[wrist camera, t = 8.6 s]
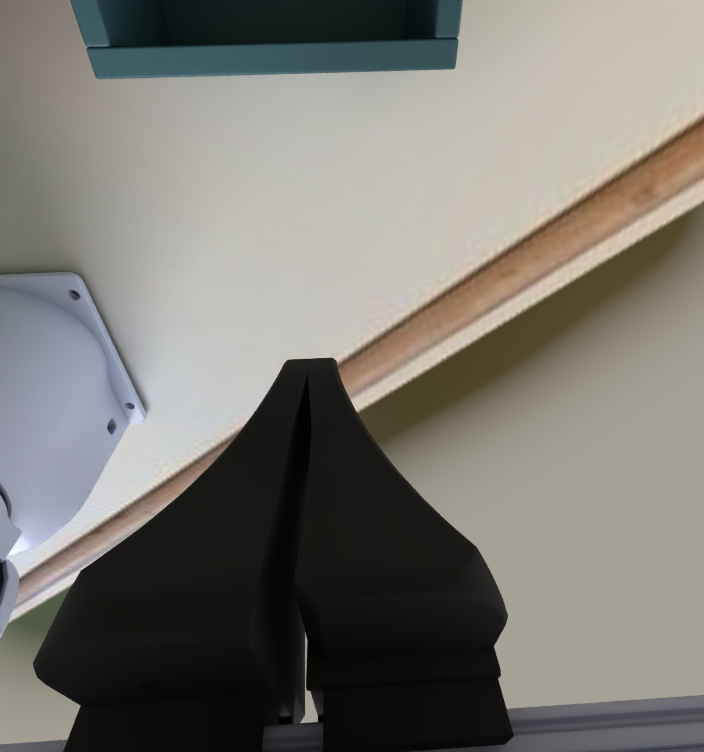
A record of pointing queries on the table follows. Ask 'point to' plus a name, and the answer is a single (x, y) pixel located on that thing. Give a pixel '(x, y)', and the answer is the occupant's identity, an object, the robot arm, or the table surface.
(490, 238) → the table surface
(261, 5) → the drawer
